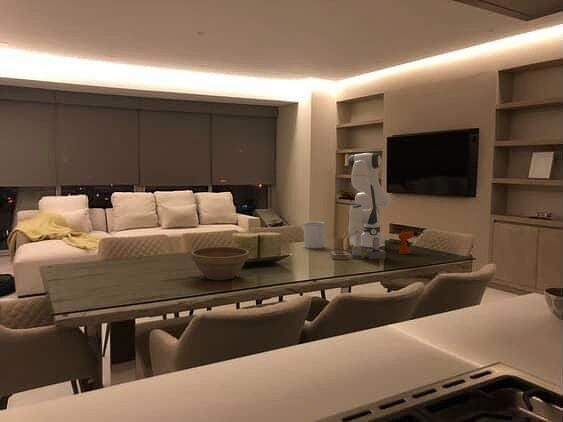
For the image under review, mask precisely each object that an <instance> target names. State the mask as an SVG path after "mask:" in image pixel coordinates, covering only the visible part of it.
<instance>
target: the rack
mask: <svg viewBox="0 0 563 422" xmlns="http://www.w3.org/2000/svg"><path fill="white" fill-rule="evenodd" d="M348 253H349V252H348V251H330V258H331V260H350V256H349V254H348Z"/></svg>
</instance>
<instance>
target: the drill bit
mask: <svg viewBox="0 0 563 422" xmlns="http://www.w3.org/2000/svg"><path fill="white" fill-rule="evenodd" d="M372 250H373V252H379V250H380V247H379V236H376V235H375V236H374V238H373V247H372Z"/></svg>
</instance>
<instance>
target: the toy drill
mask: <svg viewBox="0 0 563 422" xmlns="http://www.w3.org/2000/svg"><path fill="white" fill-rule="evenodd" d="M424 233H425V232H424V231H420V232H417V231H411V230H410V231H401V232H400V233H399V234H398V239H399V240H400V243H401V244H400V246H401V247H400V249H399V250H398V254H400V255H405V254H406V255H407V254H408V255H409V254H410V255H411V250H409V248H408V247H409V245H410V242H409V240H410V239H412V238H414V237H416V236H418V235H421V234H424Z"/></svg>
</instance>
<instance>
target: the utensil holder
mask: <svg viewBox="0 0 563 422" xmlns="http://www.w3.org/2000/svg"><path fill="white" fill-rule="evenodd" d="M303 243H304V244H303V246H304V248H306V249H323V248H324V247H325V245H324V244H325V221H323V222H322V221H304V222H303Z"/></svg>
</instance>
